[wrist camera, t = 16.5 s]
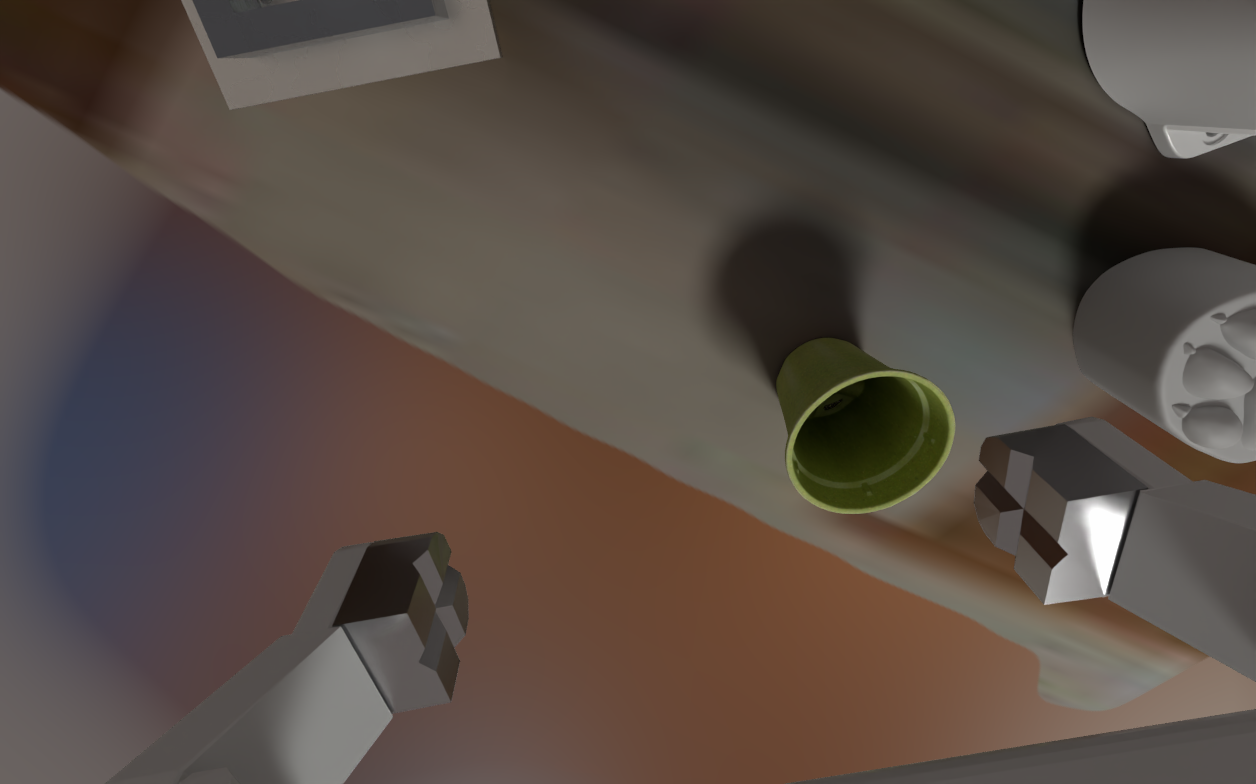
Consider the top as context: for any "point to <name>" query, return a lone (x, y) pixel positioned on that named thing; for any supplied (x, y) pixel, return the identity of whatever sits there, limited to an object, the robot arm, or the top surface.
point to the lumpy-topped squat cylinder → (1177, 345)
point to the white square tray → (334, 42)
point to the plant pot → (859, 428)
